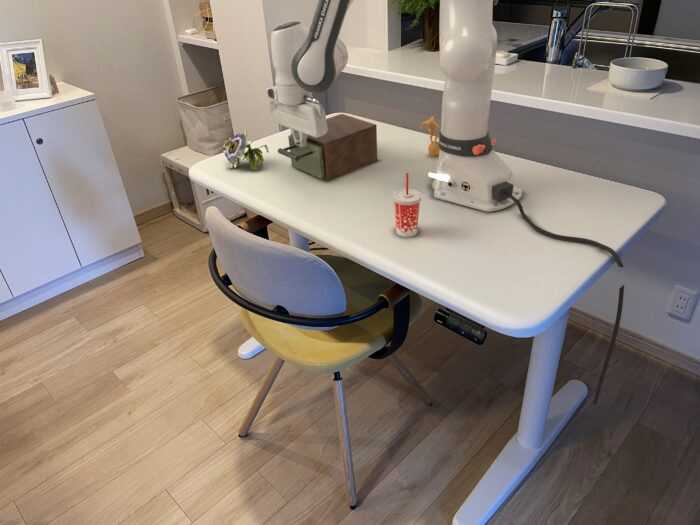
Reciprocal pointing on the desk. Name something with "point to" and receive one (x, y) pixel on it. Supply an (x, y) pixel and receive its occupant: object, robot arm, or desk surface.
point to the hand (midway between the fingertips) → (301, 145)
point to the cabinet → (347, 145)
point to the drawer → (305, 157)
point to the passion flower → (242, 151)
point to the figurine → (431, 125)
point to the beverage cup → (407, 210)
